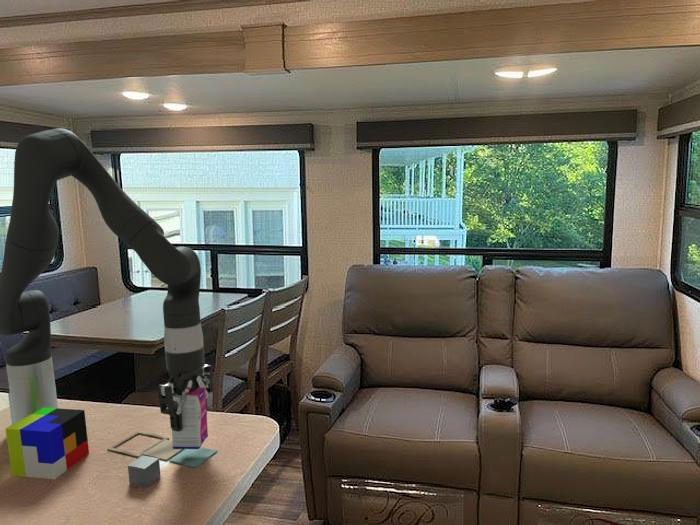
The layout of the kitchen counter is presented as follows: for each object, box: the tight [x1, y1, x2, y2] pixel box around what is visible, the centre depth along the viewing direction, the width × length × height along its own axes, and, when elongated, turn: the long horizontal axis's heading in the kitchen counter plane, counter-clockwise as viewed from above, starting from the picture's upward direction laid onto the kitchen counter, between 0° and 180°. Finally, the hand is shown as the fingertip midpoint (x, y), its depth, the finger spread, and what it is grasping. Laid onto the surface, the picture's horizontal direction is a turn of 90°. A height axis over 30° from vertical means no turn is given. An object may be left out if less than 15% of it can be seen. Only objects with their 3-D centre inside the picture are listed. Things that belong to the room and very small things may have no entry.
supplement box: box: [171, 387, 209, 450], centre depth 110 cm, size 6×6×12 cm
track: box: [107, 430, 218, 469], centre depth 115 cm, size 23×9×1 cm, turn 66°
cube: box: [127, 455, 161, 489], centre depth 103 cm, size 4×4×4 cm
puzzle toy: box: [5, 407, 90, 480], centre depth 109 cm, size 10×10×10 cm
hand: (190, 422), depth 110 cm, fingers closed on supplement box, 7 cm apart
